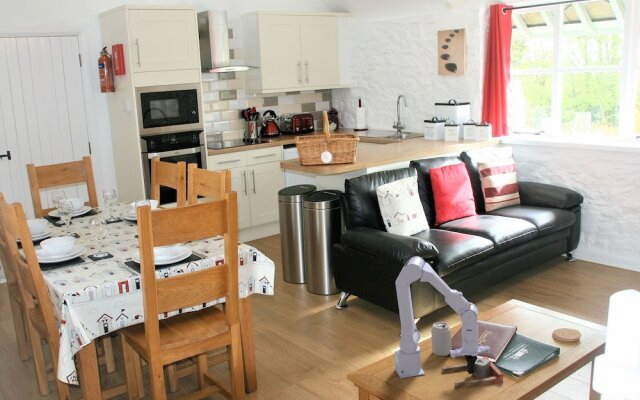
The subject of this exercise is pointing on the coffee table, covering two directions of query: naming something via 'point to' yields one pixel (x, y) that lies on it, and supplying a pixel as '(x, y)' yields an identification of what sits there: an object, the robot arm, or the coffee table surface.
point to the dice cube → (482, 368)
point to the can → (441, 339)
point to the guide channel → (494, 371)
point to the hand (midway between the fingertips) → (470, 372)
